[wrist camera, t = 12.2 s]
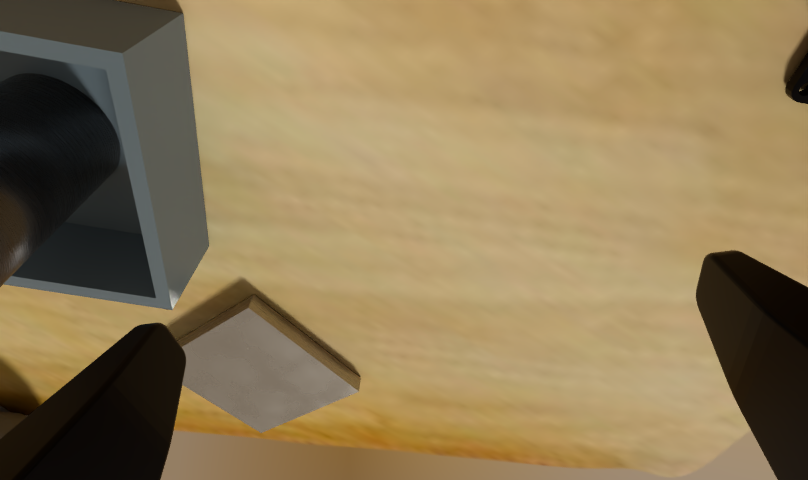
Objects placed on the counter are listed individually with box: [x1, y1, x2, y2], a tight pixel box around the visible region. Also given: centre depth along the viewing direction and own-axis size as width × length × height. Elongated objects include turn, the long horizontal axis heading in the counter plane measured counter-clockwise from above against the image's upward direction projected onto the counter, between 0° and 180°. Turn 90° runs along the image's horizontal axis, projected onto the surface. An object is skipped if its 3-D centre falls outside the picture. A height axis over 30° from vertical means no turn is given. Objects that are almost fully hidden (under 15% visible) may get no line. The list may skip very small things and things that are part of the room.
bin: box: [0, 0, 209, 310], centre depth 19 cm, size 11×11×4 cm
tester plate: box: [177, 295, 361, 433], centre depth 31 cm, size 9×9×1 cm
